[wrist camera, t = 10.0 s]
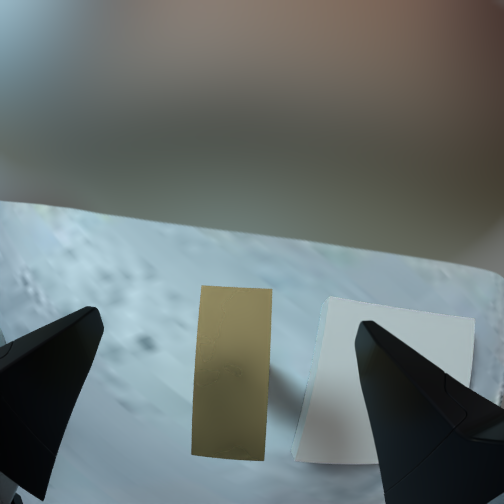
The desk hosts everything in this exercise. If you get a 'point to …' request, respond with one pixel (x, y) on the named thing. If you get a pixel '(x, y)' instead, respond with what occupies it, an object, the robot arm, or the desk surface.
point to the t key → (232, 373)
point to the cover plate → (347, 376)
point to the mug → (2, 339)
